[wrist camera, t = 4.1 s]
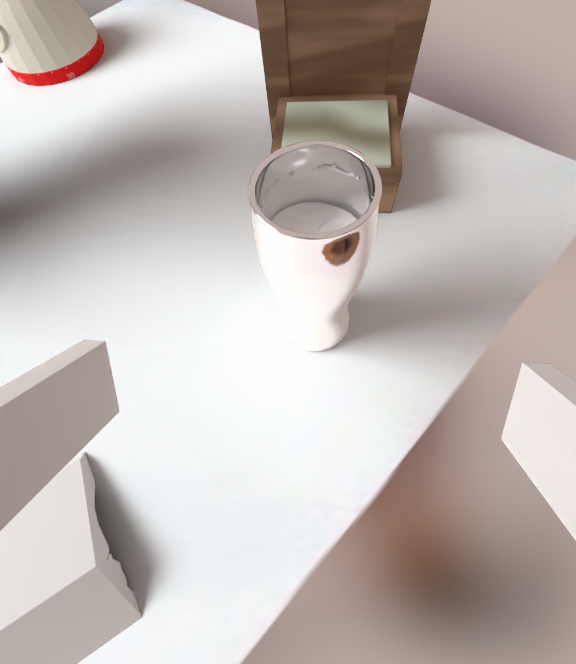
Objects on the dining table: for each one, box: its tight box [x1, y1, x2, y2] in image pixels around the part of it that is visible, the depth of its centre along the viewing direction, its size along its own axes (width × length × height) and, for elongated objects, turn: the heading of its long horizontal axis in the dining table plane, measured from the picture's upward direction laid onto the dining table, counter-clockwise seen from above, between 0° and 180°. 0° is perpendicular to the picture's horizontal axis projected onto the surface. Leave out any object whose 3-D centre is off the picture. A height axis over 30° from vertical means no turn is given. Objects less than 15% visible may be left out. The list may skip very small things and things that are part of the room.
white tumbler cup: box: [248, 140, 382, 352], centre depth 23 cm, size 7×7×15 cm
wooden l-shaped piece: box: [256, 0, 431, 213], centre depth 27 cm, size 13×15×24 cm
